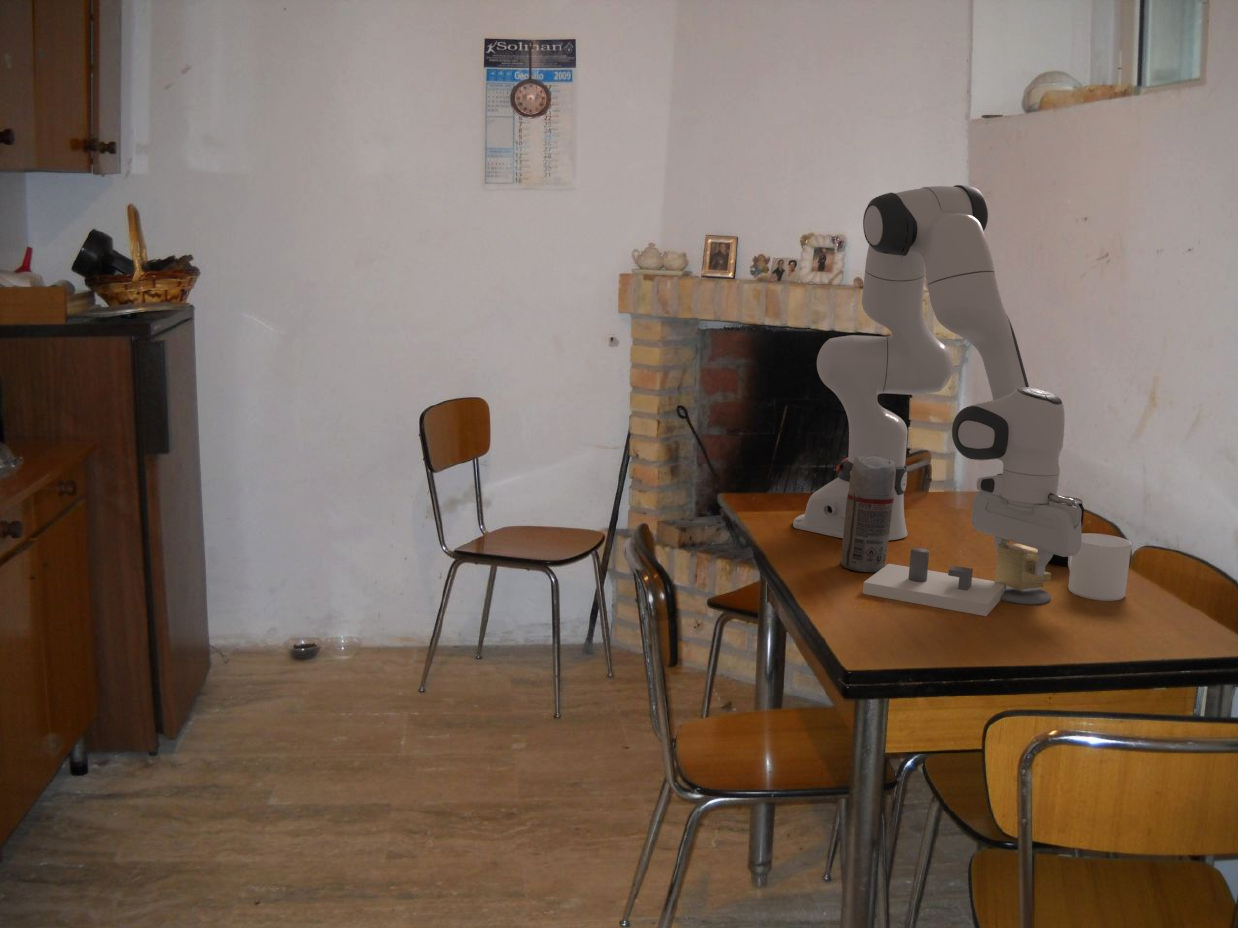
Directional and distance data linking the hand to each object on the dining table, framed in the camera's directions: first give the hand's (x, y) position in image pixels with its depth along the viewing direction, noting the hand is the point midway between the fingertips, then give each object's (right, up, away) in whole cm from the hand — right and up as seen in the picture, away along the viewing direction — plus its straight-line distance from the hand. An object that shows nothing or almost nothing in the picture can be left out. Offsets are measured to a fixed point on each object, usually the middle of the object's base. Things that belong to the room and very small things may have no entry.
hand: (1020, 569), depth 199 cm
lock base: (-14, -4, 0) cm, 15 cm away
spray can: (-23, -1, +15) cm, 27 cm away
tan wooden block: (+2, -2, +1) cm, 3 cm away
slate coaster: (0, -4, +1) cm, 5 cm away
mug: (+14, -4, +6) cm, 16 cm away
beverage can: (+15, -1, +23) cm, 28 cm away
